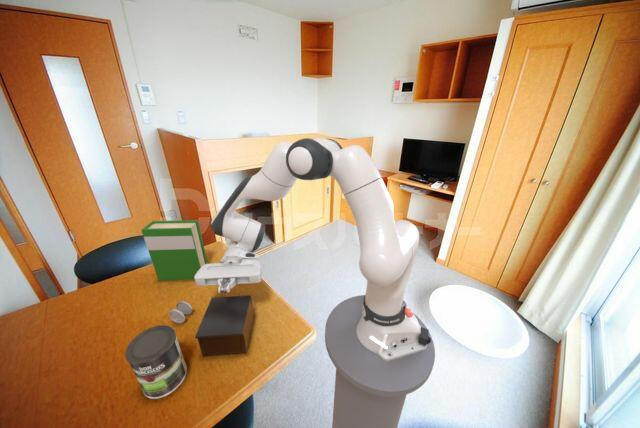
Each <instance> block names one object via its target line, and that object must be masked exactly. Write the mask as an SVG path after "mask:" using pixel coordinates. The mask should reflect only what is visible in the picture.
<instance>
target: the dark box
mask: <svg viewBox="0 0 640 428" xmlns="http://www.w3.org/2000/svg"><path fill="white" fill-rule="evenodd" d="M254 319H255V313H254V306H253V299H252V297H251V301H250V305H249V310H248V314H247V319H246V323H245V327H244V332H243V335H240V336H226V337H212V338H198V339H197V342H198V345H199V348H200V352H201V355H202V357H204V358H205V357H206V358H207V357H216V356H217V357H218V356H232V355H243V354H248V349H249V345H250V340H251V334H252V329H253V324H254Z"/></svg>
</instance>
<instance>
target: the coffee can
mask: <svg viewBox="0 0 640 428" xmlns="http://www.w3.org/2000/svg"><path fill="white" fill-rule="evenodd" d="M124 356H125V360H126V361H127V362H128V364H129V366H130V367H131V370H132V371H133V373H134V375H135V377H136V379H137V382H138V383H139V385H140V388H141V389H142V392H143V395H144V396H145V397H146V398H147V399H151V400H157V399H161V398H164V397H165V398H166V397H167V396H168V395H170V394H172V393H174V392H175V391H176V390H177V389H178V388H180V386H181V384H182V383H183V382H184V381H185V379H186V377H187V375H188V374H187V373H188V365H187V363H186V361H185V358H184V355H183V351H182V350H181V346H180V344H179V340H178V337H177V332H176V329H175V328H174V327H172V326H170V325H167V324H158V325H155V326H152V327H149V328H146V329H145V330H143V331H142V332H140V333H139V334H138V335H136V336H135V337H134V338H132V340H131V341H129V343H128V346H127V347H126V349H125V352H124Z"/></svg>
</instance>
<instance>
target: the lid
mask: <svg viewBox="0 0 640 428" xmlns="http://www.w3.org/2000/svg"><path fill="white" fill-rule="evenodd" d="M251 298H252V295H235V296H234V295H231V296H218V297H217V296H216V297H215V296H214V297H211V298H210V301H209V303H208V305H207V307H206V310H205V312H204V315H203V317H202V319H201V322H200V324H199V327H198V328H197V331H196V333H195V335H194V338H195V339H196V340H198V338H212V337H226V336H240V335H243V332H244V327H245V323H246V319H247V314H248V310H249V305H250V301H251Z"/></svg>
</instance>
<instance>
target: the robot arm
mask: <svg viewBox="0 0 640 428" xmlns="http://www.w3.org/2000/svg"><path fill="white" fill-rule="evenodd" d="M262 164H263V165H262V166H261V168H260V170H259V171H258V172H257V173H255V174H254V175H247V176H246V177H244V178H243V179H242V180H241V182H239V184H238V186H237V187H236V188H235V189H234V191H233V192H232V193H231V194H230V195H229V197H228V198H227V200H226V201H225V203H224V204H223V206H222V207H221V208H220V209H219V210H218V211H217V212H216V213H215V214H214V216H213V217H212V219H211V222H210V228H211V230H212V232H213V234H214V235H216V236H219V237H223V238H226V239H229V240H230V241H229V243H228V245H227V246H226V250H225V251H224V253H223V256H222V257H221V259H220V262H214V263H213V262H212V263H208V264H205V265H203V266H202V267H201V268H200V269H199V270H198V272H197V273H196V275H195V276H194V279H193V280H194V283H195V285H196V286H197V287H210V286H218V288H217V292H218V294H230V291H231V290H233V288H234V287H236V285H246V284H247V285H250V284H259V283H260V282H261V281H262V267H261V259H260V256H259V254H258V253H254V252H255V251H257V250H258V249H259V248H260V246H261V244H262V242H263V239H264V236H265V227H264V224H263V223H262V222H259V221H258V220H255V219H253V218H250V217H248V216H245V215H243V214H241V213H239V212H238V211H236V210H238V208H239V206H240V205H241V204H242V202H244V201H246V200H259V201H265V202H276V201H279V200H282V199H285V198H286V197H287V195H288V194H289V193H290V191H291V190H292V188H293V186H294V185H295V183H296V181H297V179H298V180H300V181H301V180H302V181H316V180H320V179H321V180H322V179H327V178H328V177H331V178H332V179H333V180H335V181H336V182H337V184H338V187H339V188H340V191H341V192H342V194H343V197H344V199H345V200H346V204H347V206H348V207H349V210H350V212H351V214H352V217H353V219H354V222H355V225H356V230H357V235H358V242H359V248H360V249H359V250H360V251H359V252H360V253H359V259H358V261H359V262H358V268H359V271H360V273H361V275H362V276H363V278H364V279H365V280H366V289H365V294H364V295H365V296H364V300H363V305H362V316H361V319H360V321H359V323H358V325H357V328H356V334H357V337H358V339H359V341H360V342H361V344H362V345H363V346H364V347H365V348H367V349H368V350H370V351H372V352H374V353H376V354H378V355H379V356H380V357H381V358H382V359H383V360H385V361H391V360H394V359H397V358H400V357H404V356H407V355H410V354H414V353H417V352H420V351H423V350H426V348H427V344H429V343H430V342H431V339H430V337H429V336H428V334H429V333H430V329H428V328H427V329H425V328H423V327H421V326H420V325H419V322H418V320H417V318H416V317H415V315H416V314H415V313H414V312H413V311H412V310H411V308H409V307H408V306H407V303H406V301H405V300H404V298H405V293H406V289H407V285H408V282H409V279H410V276H411V272H412V269H413V266H414V262H415V260H416V256H417V252H418V249H419V243H420V232H419V229H418V227H417V226H416V225H415V224H414V223H413V222H411V221H410V220H405V219H398V220H395V214H394V213H395V212H394V211H395V205H394V201H393V199H392V197H391V194H390V193H389V190H388V188H387V185H386V183H385V182H384V180H383V177H382V175H381V173H380V171H379V169H378V168H377V165H376V164H375V162H374V160H373V159H372V157H371V156H370V154H369V153H368V152H367V150H366V149H365V148H364V147H363V146H362V145H358V144H352V145H348V146H347V145H346V146H345V147H343V146H342V145H341V144H340V143H339V142H338V141H337V140H334V139H332V138H323V137H318V136H317V137H316V136H315V137H309V138H308V137H305V138H304V137H303V138H301V139H298V140H296V141H295V142H293V141H288V140H287V141H286V140H283V141H280V142H278V143H277V144H276V145H275V146H274V147H273V148H272V149H271V151H270V153H269V154H268V155H267V157H266V159H265V161H264V163H262ZM413 313H414V314H415V315H414V314H413ZM389 355H390V356H389Z"/></svg>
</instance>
